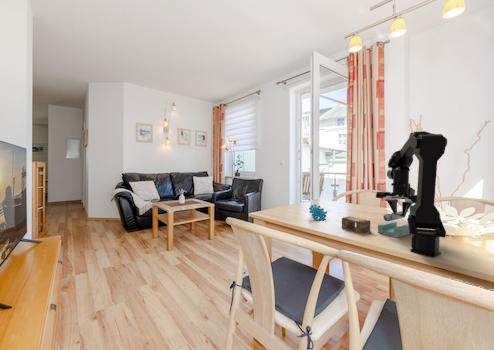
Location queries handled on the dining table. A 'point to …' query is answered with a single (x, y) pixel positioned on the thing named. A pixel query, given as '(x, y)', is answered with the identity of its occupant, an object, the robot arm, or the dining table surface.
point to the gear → (317, 212)
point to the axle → (393, 216)
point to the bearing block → (360, 224)
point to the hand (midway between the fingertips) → (399, 216)
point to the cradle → (393, 229)
